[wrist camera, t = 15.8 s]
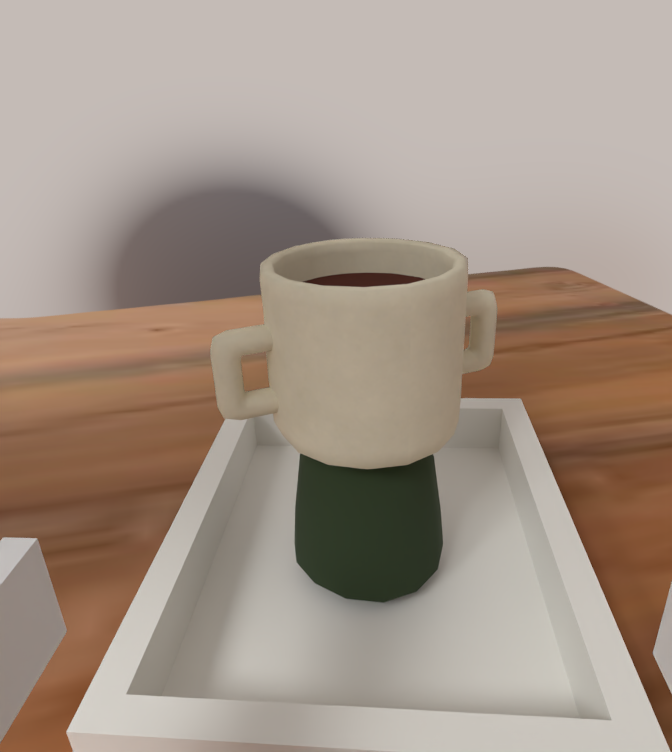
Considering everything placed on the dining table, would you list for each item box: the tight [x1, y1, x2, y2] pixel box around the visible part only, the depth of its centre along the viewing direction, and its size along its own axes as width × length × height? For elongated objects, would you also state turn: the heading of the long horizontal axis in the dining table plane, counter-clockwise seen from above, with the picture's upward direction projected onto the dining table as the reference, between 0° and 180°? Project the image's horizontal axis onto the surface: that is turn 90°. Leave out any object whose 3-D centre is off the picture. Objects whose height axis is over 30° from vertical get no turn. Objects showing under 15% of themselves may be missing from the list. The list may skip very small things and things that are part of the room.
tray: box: [66, 398, 670, 752], centre depth 25 cm, size 16×20×4 cm
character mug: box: [210, 238, 497, 603], centre depth 23 cm, size 11×7×13 cm, turn 111°
